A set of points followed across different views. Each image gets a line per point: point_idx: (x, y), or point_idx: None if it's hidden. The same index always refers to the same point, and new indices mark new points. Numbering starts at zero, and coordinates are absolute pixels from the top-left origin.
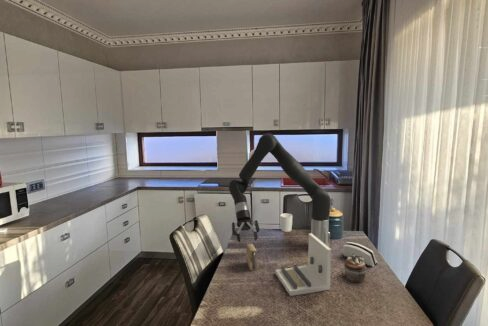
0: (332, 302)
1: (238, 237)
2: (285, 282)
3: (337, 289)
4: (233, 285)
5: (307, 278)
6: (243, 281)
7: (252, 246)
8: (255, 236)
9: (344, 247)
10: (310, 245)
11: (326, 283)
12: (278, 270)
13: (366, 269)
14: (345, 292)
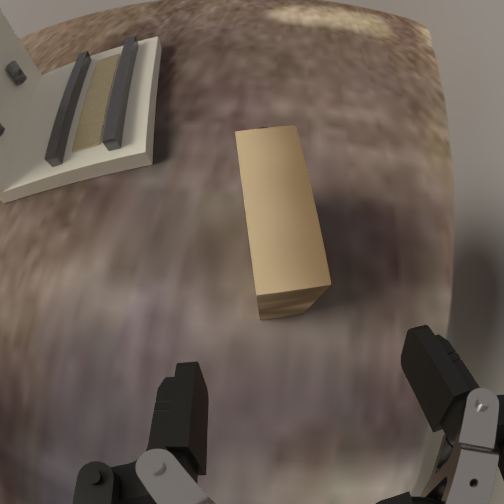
0: (75, 46)
1: (445, 361)
2: (148, 70)
3: None
4: (371, 105)
5: (61, 99)
6: (328, 121)
7: (264, 213)
8: (185, 386)
9: None
10: None
11: (38, 73)
12: (133, 145)
13: None
14: None
